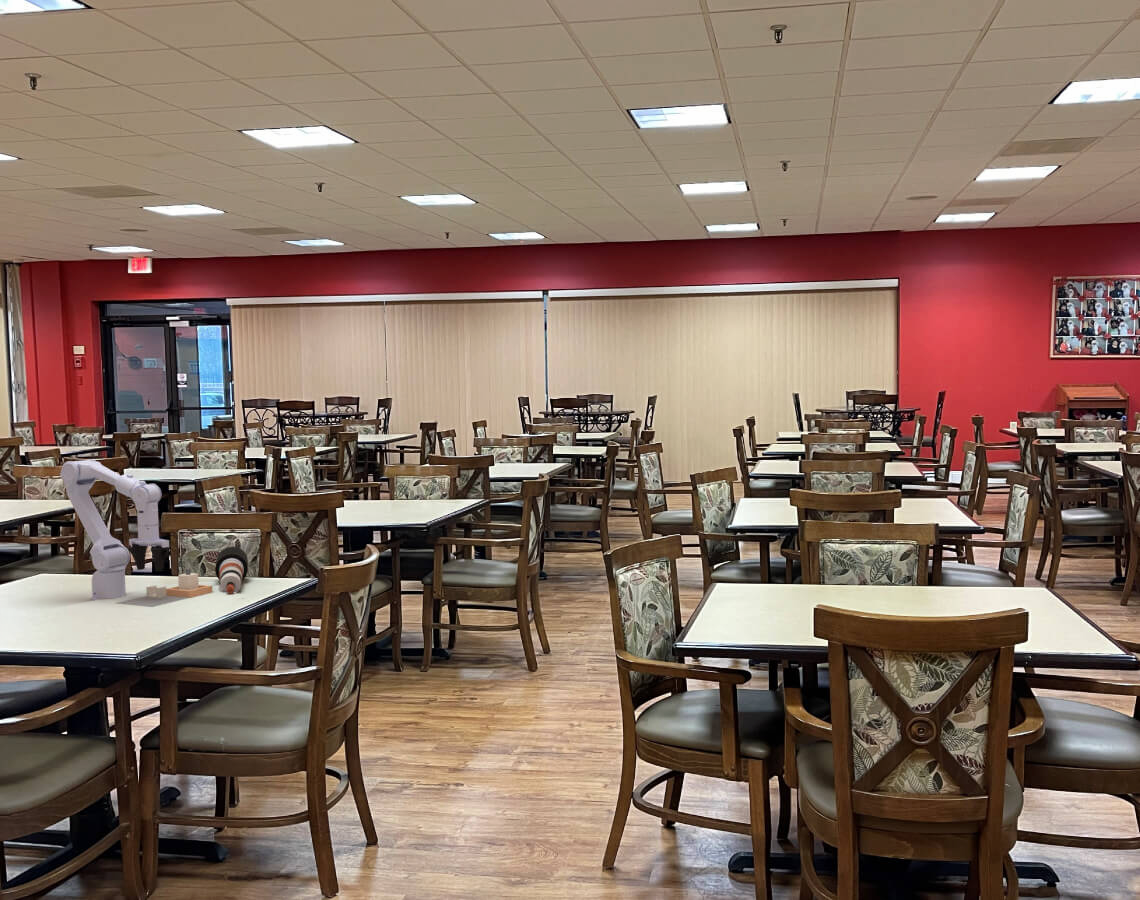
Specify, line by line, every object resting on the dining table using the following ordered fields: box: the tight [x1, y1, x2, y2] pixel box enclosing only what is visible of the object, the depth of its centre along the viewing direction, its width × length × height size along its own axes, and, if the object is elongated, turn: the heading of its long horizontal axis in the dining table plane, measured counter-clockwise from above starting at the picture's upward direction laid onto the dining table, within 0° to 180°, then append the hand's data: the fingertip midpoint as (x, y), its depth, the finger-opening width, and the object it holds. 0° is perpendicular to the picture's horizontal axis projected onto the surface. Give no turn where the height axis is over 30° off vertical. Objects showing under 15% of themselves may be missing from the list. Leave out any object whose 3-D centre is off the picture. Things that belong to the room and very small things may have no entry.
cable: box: [214, 546, 249, 594], centre depth 327 cm, size 10×34×10 cm, turn 17°
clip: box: [145, 585, 167, 598], centre depth 309 cm, size 5×3×3 cm, turn 64°
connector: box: [177, 566, 200, 590], centre depth 312 cm, size 4×4×8 cm
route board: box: [116, 593, 209, 608], centre depth 308 cm, size 15×24×1 cm, turn 154°
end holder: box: [166, 584, 214, 599], centre depth 313 cm, size 10×9×2 cm
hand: (150, 570), depth 307 cm, fingers open, 7 cm apart
